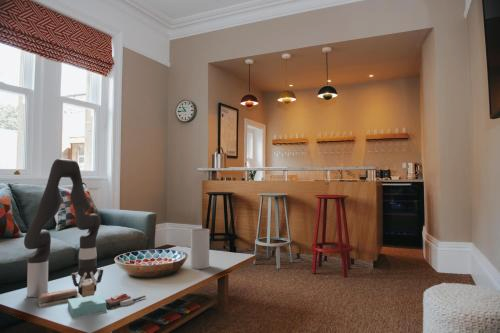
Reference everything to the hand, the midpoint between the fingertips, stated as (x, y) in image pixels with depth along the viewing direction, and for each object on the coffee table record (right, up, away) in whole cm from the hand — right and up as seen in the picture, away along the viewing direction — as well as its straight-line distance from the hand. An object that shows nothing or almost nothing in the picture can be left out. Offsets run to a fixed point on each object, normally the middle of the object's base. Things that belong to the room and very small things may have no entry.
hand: (87, 293), depth 164 cm
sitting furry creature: (-16, -8, +35) cm, 40 cm away
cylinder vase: (+42, -9, +75) cm, 86 cm away
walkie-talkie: (+14, -8, +8) cm, 18 cm away
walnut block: (0, -1, 0) cm, 1 cm away
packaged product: (-18, -8, +10) cm, 23 cm away
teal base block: (0, -8, 0) cm, 8 cm away
